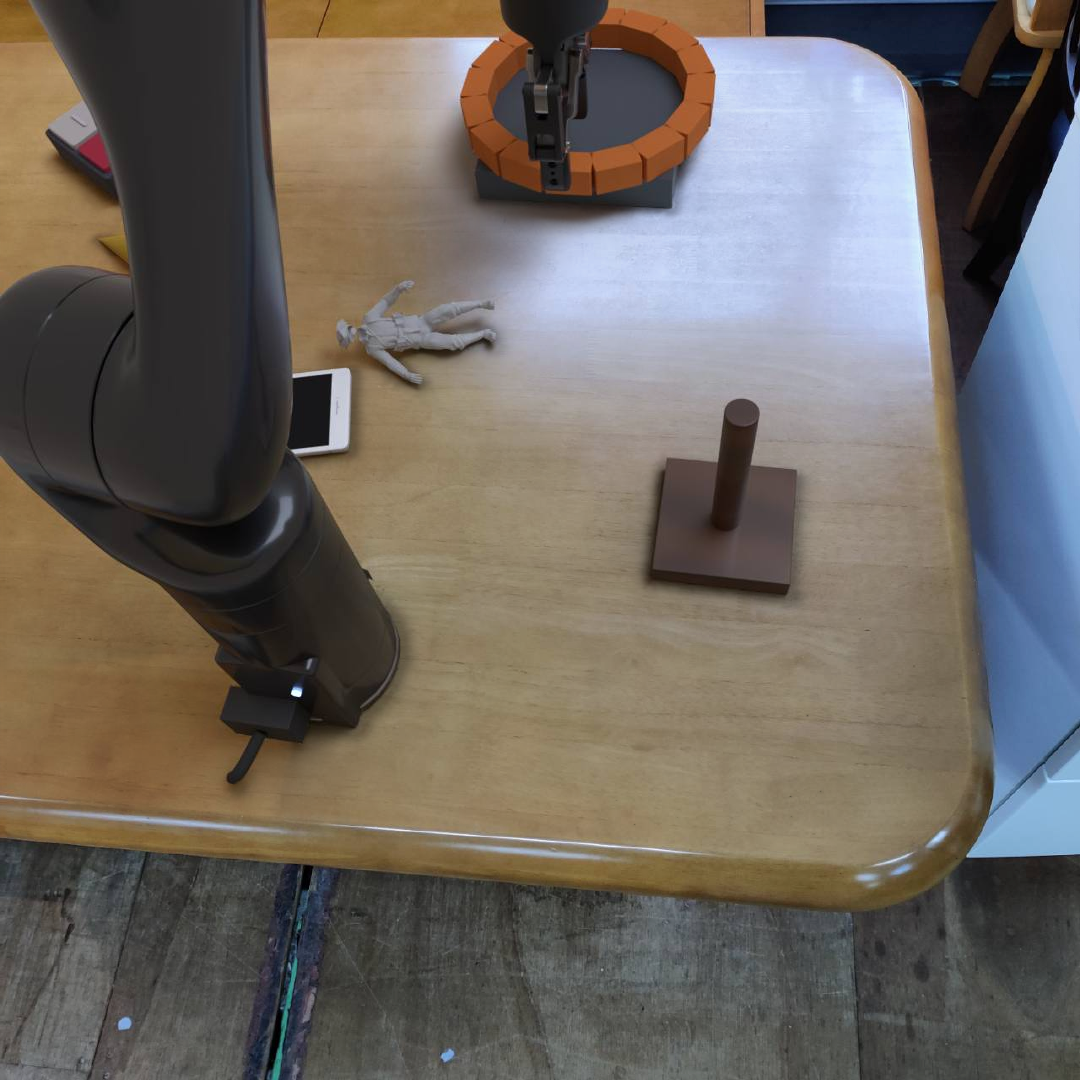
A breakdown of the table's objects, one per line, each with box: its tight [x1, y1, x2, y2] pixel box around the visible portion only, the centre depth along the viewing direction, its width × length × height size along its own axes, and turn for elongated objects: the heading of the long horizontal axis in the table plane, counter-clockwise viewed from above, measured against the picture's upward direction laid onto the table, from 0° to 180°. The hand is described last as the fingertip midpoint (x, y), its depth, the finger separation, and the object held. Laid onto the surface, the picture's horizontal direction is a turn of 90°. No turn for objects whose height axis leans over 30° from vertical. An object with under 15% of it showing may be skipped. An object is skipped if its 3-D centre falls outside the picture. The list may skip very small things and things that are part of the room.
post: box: [651, 397, 798, 595], centre depth 60 cm, size 9×9×14 cm
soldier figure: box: [335, 280, 497, 385], centre depth 75 cm, size 8×5×12 cm
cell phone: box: [287, 367, 353, 458], centre depth 74 cm, size 8×16×1 cm, turn 94°
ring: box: [459, 7, 717, 195], centre depth 83 cm, size 22×22×2 cm
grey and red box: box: [45, 99, 119, 202], centre depth 91 cm, size 11×4×15 cm
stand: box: [474, 48, 684, 209], centre depth 85 cm, size 17×17×3 cm
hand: (566, 151), depth 77 cm, fingers open, 8 cm apart
